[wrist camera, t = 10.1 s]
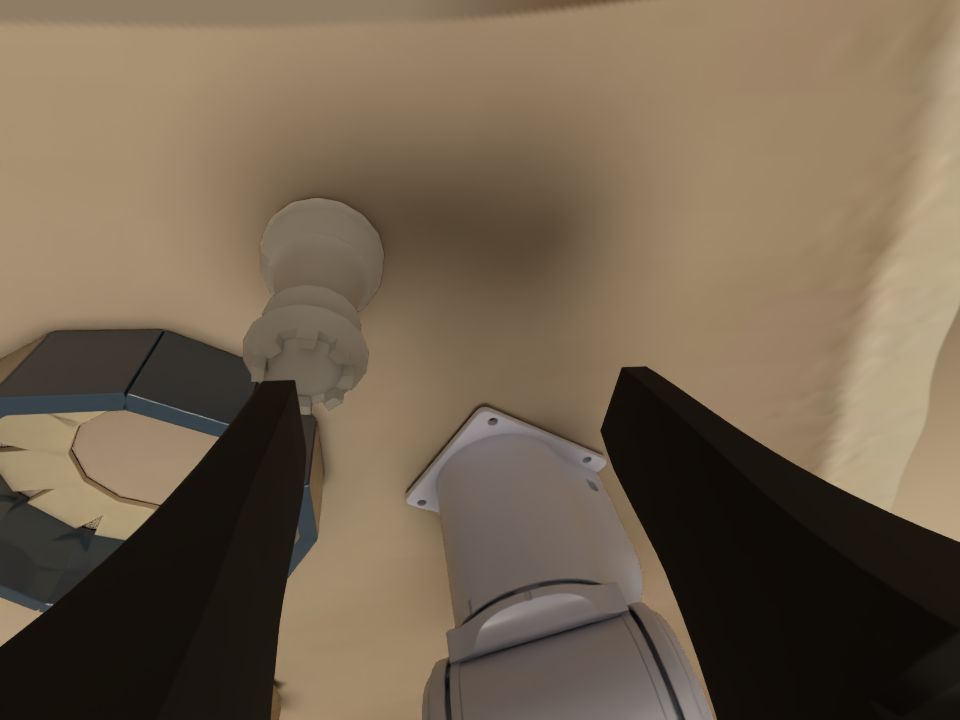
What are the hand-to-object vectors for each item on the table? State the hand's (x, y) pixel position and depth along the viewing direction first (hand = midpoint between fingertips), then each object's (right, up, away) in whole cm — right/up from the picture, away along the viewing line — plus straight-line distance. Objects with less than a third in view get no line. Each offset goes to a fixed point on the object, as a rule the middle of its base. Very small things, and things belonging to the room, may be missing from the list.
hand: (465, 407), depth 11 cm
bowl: (-15, -4, +12) cm, 20 cm away
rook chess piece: (-6, +5, +8) cm, 11 cm away
